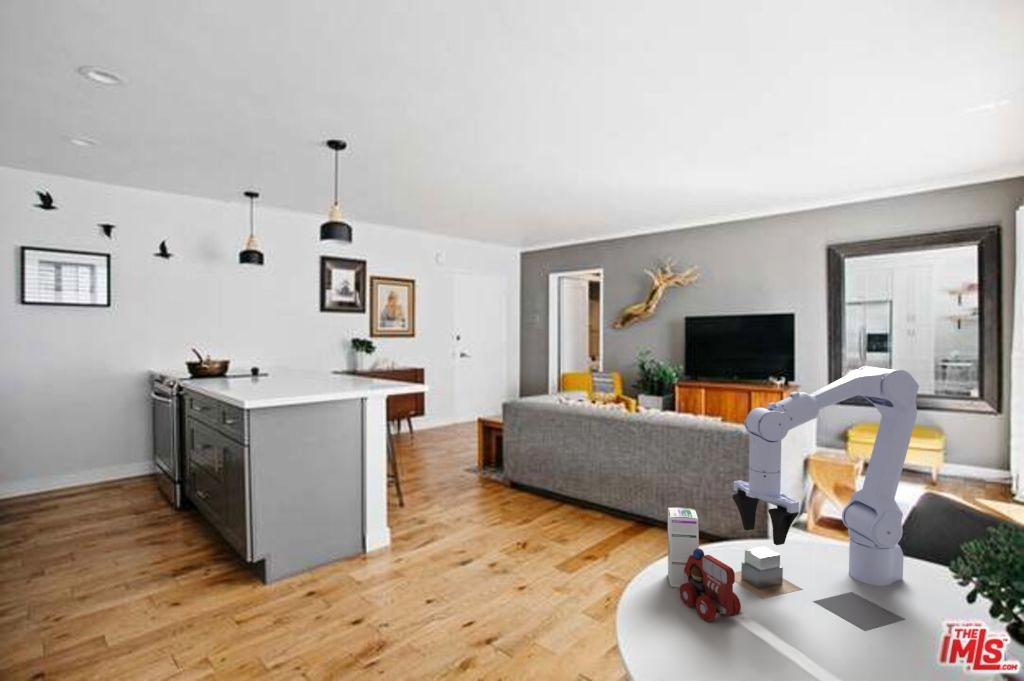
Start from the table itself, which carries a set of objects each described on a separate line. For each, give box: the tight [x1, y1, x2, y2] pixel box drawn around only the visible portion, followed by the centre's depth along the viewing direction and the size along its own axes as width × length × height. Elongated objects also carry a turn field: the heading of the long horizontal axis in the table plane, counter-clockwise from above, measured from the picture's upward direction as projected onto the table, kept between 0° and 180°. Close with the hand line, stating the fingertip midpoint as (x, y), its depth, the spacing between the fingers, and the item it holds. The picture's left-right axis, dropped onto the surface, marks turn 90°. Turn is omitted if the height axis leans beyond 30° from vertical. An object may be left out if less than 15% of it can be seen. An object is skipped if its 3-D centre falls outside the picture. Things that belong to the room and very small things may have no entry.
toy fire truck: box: [679, 547, 742, 622], centre depth 100 cm, size 7×12×10 cm, turn 18°
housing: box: [741, 546, 784, 590], centre depth 107 cm, size 6×4×6 cm
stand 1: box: [734, 571, 803, 600], centre depth 107 cm, size 10×10×2 cm
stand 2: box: [812, 591, 906, 632], centre depth 97 cm, size 10×10×2 cm
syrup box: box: [667, 507, 700, 589], centre depth 110 cm, size 6×6×14 cm
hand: (763, 536), depth 108 cm, fingers open, 7 cm apart
